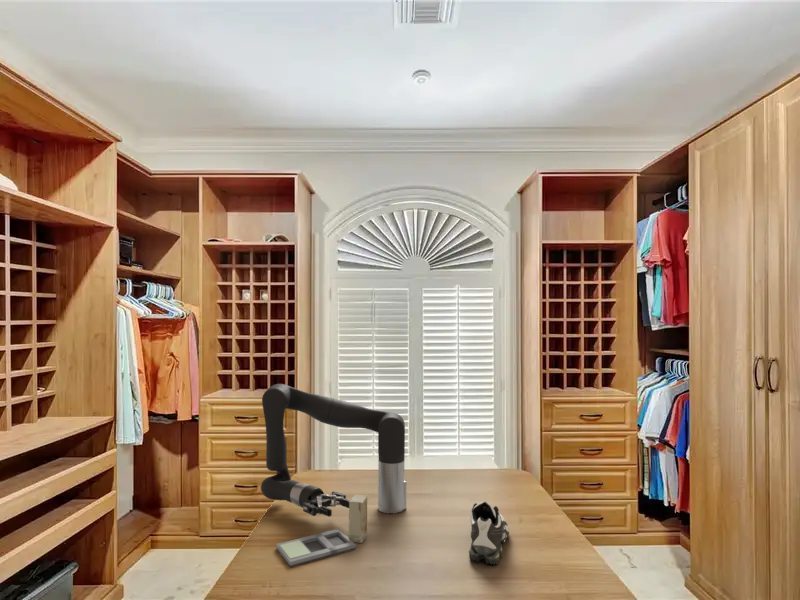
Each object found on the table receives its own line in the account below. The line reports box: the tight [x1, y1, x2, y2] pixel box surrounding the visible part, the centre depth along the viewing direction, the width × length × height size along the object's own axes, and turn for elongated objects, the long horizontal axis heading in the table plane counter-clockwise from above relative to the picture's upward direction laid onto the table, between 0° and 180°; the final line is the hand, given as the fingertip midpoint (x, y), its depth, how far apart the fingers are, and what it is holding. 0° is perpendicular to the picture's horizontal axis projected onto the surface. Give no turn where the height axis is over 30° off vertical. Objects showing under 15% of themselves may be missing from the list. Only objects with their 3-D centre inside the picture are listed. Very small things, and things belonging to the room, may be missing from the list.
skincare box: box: [348, 494, 368, 544], centre depth 155 cm, size 6×4×12 cm
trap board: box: [275, 528, 357, 568], centre depth 148 cm, size 20×12×2 cm, turn 122°
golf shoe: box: [468, 500, 510, 565], centre depth 153 cm, size 12×30×14 cm, turn 170°
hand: (340, 508), depth 160 cm, fingers open, 8 cm apart
